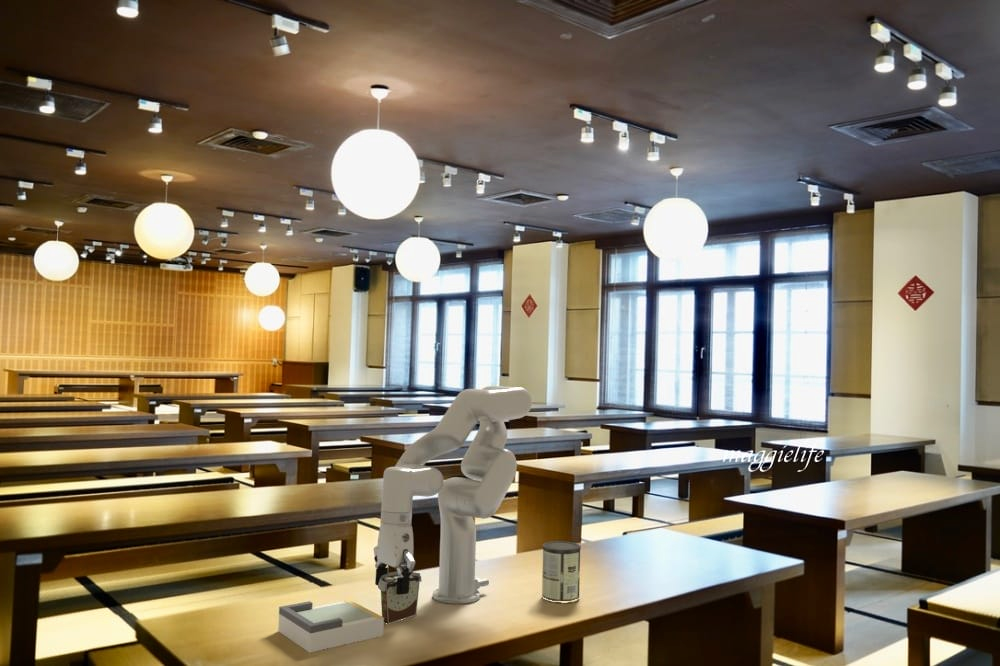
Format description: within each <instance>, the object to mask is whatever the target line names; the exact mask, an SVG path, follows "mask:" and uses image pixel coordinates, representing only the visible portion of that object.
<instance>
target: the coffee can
mask: <svg viewBox="0 0 1000 666" xmlns="http://www.w3.org/2000/svg"><path fill="white" fill-rule="evenodd" d="M581 548H582V547H581V545H580V544H578V543H576V542H571V541H563V540H561V541H560V540H553V541H548V542H544V543H543V544H542V584H541V587H542V589H541V590H542V591H541V597H542V596H543V597H544V598H546V599H548V600H552V601H572V600H575V599H578V598H580V584H581V583H580V581H581V580H580V575H581V573H580V571H581V550H582V549H581Z"/></svg>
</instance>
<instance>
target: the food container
mask: <svg viewBox="0 0 1000 666" xmlns="http://www.w3.org/2000/svg"><path fill="white" fill-rule="evenodd" d="M397 577H399V574H398V571H394V572H388V574H385V575H383V576H381V578H380V580H379V584H378V585H377V588H378V589H379V590H380V600H381V601H380V602H381V616H382V617H384V622H385V623H384V624H386V623H387V624H386V625H390V624H389V623H391V624H393V622H394V623H396V621H397V622H399V620H400V621H402V620H401V619H403V620H405V619H404V618H406V619H409V618H412V617H415V616H417V611H418V602H419V592H420V591H419V590H420V583H421V582H422V575H421V573H419V572H416V571H413V572H412V573H411V577H410V581H409V593H408V594H401V595H398V594H396V590H397ZM414 615H415V616H414ZM411 616H412V617H411ZM408 617H409V618H408Z"/></svg>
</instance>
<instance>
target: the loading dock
mask: <svg viewBox="0 0 1000 666" xmlns="http://www.w3.org/2000/svg"><path fill="white" fill-rule="evenodd" d="M313 604H314V603H313V602H312V601H310V600H309V601H305V602H298V603H293V604H288V605H287V604H286V605H281V606H278V607H279V609H278V628H277V629H278V632H279V633H280V634H282V635H284V636H285V637H286V638H288V639H289V640H290V641H292V642H293V643H295V644H296V645H298V646H299V647H300V648H302V649H303V650H305V651H306V652H308V653H309V654H311V653H314V652H318V651H323V649H324V650H328V649H332V648H336V647H340V646H344V644H345V645H348V644H353V642H354V643H357V641H358V642H362V641H365V640H366V639H367V640H371V639H375V638H380V637H383V636H384V624H385V623H384V617H382V615H380V614H378V613H376V612H374V611H372V610H370V609H368V608H366V607H365V606H362V605H361V604H359V603H357V602H355V601H353V600H351V599H346V600H343V601H338V602H333V603H327V604H321V605H318V606H313ZM361 640H362V641H361ZM327 648H328V649H327Z"/></svg>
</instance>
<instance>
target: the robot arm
mask: <svg viewBox="0 0 1000 666" xmlns="http://www.w3.org/2000/svg"><path fill="white" fill-rule="evenodd" d="M532 404H533V402H532V396H531V394H530V392H529V391H528V390H527V389H526V388H524V387H521V386H503V385H489V386H485V387H483V388H481V389H480V388H467V389H463V390H461V391H460V392H459V393H458V394H457V395H456V397H455V398H454V400H453V401H452V403H451V404H450V406H449V407H448V408H447V410H446V412H445V413H444V415H443V417H442V418H441V419H440V420H439V422H438V424H437V425H436V426H435V428H433V429H432V430H430V431H429V432H427V433H425V434H424V435H423V436H421V437H420V438H418V439H417V440H416V441H414V442H413V443H412V444H411V445H409V446H408V447H407V448H406V449H405V450H404V452H403V453H402V455H401V456H400V458H399V459H398V460H397V463H396V464H395V465H394V466H390V467H386V468H385V470H384V471H383V477H382V479H383V481H382V494H381V508H380V509H381V510H380V525H379V530H378V531H379V532H378V537H377V545H376V546H374V547H373V554H374V558H373V560H374V561H375V564H374V566H375V583H374V584H375V585H376V586H378V584H379V580H380V578H381V576H383V575H385V574H388V573H389V567H390V568H391V567H392V568H394V569H396V572H398V574H399V577H397V590H396V594H398V595H401V594H408V593H409V581H410V577H411V573H412V572H414V568H415V565H416V560H415V558H414V532H413V526H412V518H413V517H412V516H413V498H414V497H415V496H416V497H433V496H435V495H437V503H438V508H439V515H440V539H439V541H440V542H439V572H438V573H439V575H438V588H435V589H434V590H433V592H432V598H433V599H434V600H436V601H437V602H440V603H444V604H452V605H453V604H454V605H455V604H456V605H460V604H461V605H462V604H470V602H471V603H474V602H476V600H477V601H478V600H479V599H480V598H481V592H480V591H479V590H478V589H480V588H481V587H482V588H483V587H487V586H489V584H490V583H489V579H488V578H486V577H485V578H482V579H479V578H478V577H476V555H477V554H476V549H477V548H476V547H477V546H476V545H477V529H476V524H475V520H474V518H475V519H476V518H477V519H482V520H483V519H488V518H489V519H490V518H491V517H493V516H494V515H495V514H496V512H497V511H498V509H499V508H500V506H501V504H502V503H503V501H504V498H505V497H506V495H507V493H508V491H509V490H510V487H511V486H512V484H513V481H514V479H515V477H516V473H517V468H518V467H517V465H518V463H517V459H516V456H515V454H514V453H513V452H512V450H509V449H507V448H505V446H506V444H507V440H508V430H507V427H506V424H505V421H512V420H516V419H522V418H523V417H525V416H526V415H528V414H529V412H530V411H531V409H532ZM477 423H479V428H478V430H477V433H476V435H475V436H474V438H473V440H472V442H471V443H470V445H469V447H468V449H467V450H466V452H465V453H464V456H463V458H462V460H461V462H460V464H461V465H460V471H461V473H462V474H463V475H464V476H465V477H460V476H459V477H458V476H455V477H450V478H447V479H445V478H444V476H443V474H442V472H441V471H440V470H439V469H438V468H435V467H433V466H430V465H429V466H428V465H426V463H427V462H429V461H431V460H432V459H434V458H436V457H438V456H441V455H443V454H448V453H451V452H452V451H455V450H458V449H460V448H462V446H464V444H465V442H466V440H467V439H468V437H469V436H470V434H471V433H472V431H473V429H474V427H475V426H476V425H477ZM466 477H467V478H466ZM444 479H445V480H444ZM388 566H389V567H388ZM475 577H476V578H475Z"/></svg>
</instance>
